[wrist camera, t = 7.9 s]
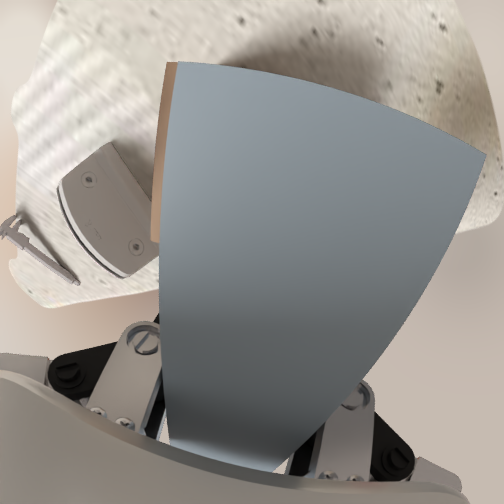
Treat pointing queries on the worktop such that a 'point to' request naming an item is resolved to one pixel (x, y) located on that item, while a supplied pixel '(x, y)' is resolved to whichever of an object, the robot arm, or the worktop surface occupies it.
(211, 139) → the door
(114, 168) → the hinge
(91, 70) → the worktop surface
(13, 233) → the caliper
